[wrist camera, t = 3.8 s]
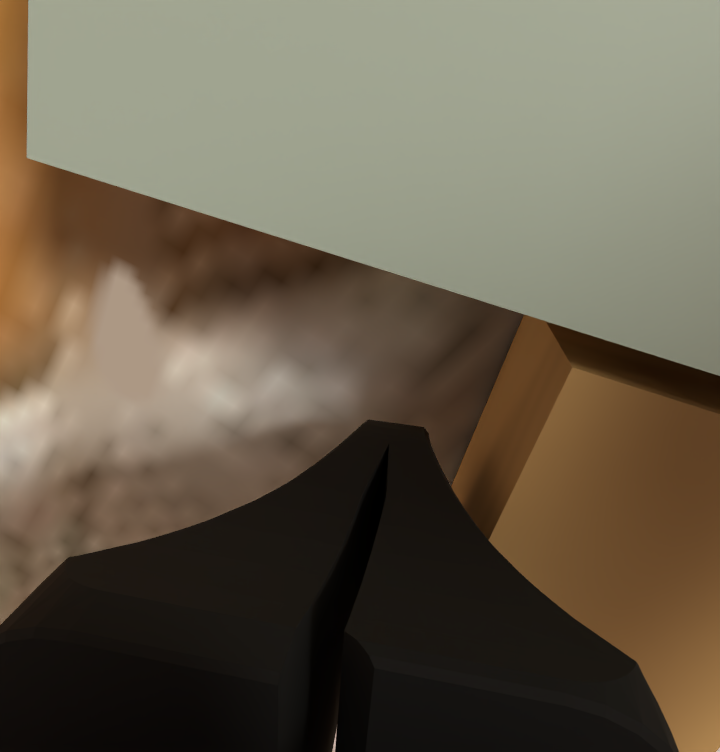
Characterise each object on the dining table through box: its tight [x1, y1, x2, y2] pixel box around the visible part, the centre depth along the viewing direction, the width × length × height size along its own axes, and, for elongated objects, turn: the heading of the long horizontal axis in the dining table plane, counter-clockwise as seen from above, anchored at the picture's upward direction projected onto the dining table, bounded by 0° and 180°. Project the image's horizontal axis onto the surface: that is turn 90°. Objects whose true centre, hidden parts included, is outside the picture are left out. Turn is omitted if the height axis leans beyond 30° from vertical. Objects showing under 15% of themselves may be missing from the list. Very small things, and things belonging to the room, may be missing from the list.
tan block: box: [451, 315, 720, 752], centre depth 10 cm, size 5×6×4 cm
